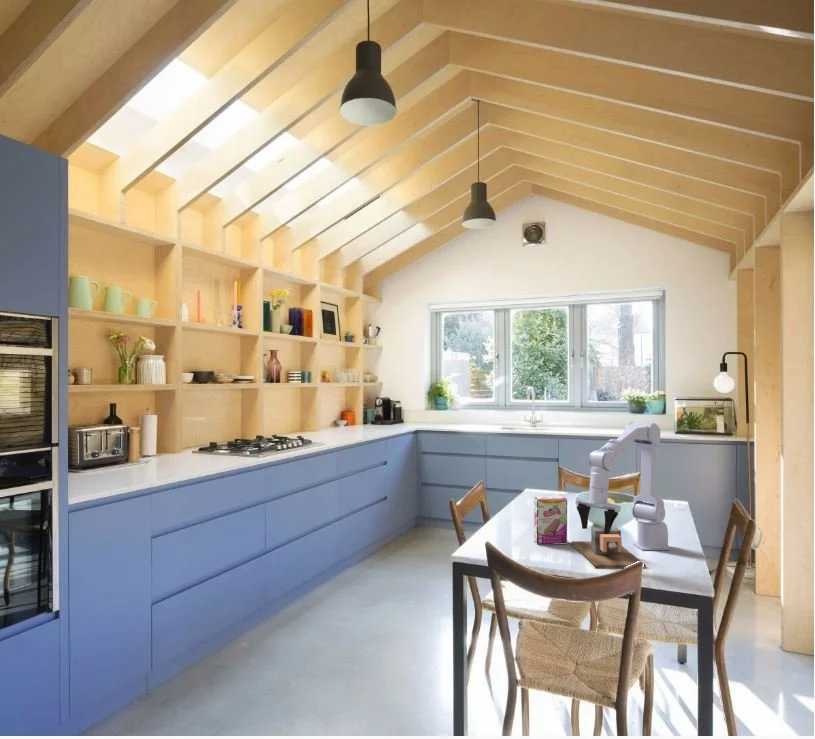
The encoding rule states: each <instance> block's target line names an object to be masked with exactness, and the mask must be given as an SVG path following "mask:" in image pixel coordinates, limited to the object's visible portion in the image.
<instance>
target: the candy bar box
mask: <svg viewBox="0 0 815 739" xmlns="http://www.w3.org/2000/svg"><path fill="white" fill-rule="evenodd" d="M533 512H534V513H533V540H534V542H535V544H536V543H537V544H536V545H555V544H554V543H567V544H568V498H566V497H564V496H534V497H533Z"/></svg>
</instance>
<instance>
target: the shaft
mask: <svg viewBox="0 0 815 739" xmlns="http://www.w3.org/2000/svg"><path fill="white" fill-rule="evenodd" d="M591 528H603V527H602V526H600V527H599V526H598V527H597V526H596V527H595V526H594V527H593V526H592V527H590V529H591ZM607 546H608V547H609V548H610V549H611V550H616V549H617V545H616V543H614V542H607Z"/></svg>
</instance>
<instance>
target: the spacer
mask: <svg viewBox="0 0 815 739" xmlns="http://www.w3.org/2000/svg"><path fill="white" fill-rule="evenodd" d="M607 542H614V543H616V545H617V549H616V551H617V552H622V546H623V544H622V535H621V536H619V535H618V534H600V549H601V550H602V551H603V552H607Z"/></svg>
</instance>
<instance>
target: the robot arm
mask: <svg viewBox="0 0 815 739" xmlns="http://www.w3.org/2000/svg"><path fill="white" fill-rule="evenodd" d="M632 443H634V444H636V445H638V447H639V448H640V449H641V459H640V460H641V461H640V462H641V464H640V490H639V491H640V492H639V494H637V495H636V496H634V497H633V504H632V506H631V515H632V516H633V518H634V519H635V521H637V522H636V523H637V542H635V541H633V545H635V546H636V547H637V548H638V549H640V550H641V551H668V550H670V548H669V531H668V530H669V529H668V527H667V526H668V525H667V524H666V523H665V522H664V520H665V517H666V510H665V502H664V501H665V500H663V499H662V498H661V497H659V496H658V494H657V479H658V477H657V476H658V475H657V474H658V452H659V449H658V447H660V446H661V428H660V427H659V426H658V424H657V423H654V422H652V423H650V422H636V421H630V422H628V423H627V424H626V425H625V428H624V431H623V432H622V433H621V434H620V435H619V436H618V438H616V439H615V438H611V439H609V440H608V441H607V442H606V443H605V444H604V445H603V446H601V447H600V448H599V449H598V450H593V451H592V452H590V453H589V455H588V458H587V463H588V467H589V469H588V470H589V471H588V472H589V473H590V479H589V490H588V492H589V493H588V499H585V498H580V497H577V498H575V505H577V506H576V510H577V513H578V514H579V519H580V523H581V529H583V530H587V529H588V526H589V525H588V522H589V515H590V511H591V509H592V508H595V509H600V510H604V511H603V513H604V528H605V529H604V533H605V534H609V533H610V529H611V528H613V527H612V526H613V524H614V522H615V520H616V518H617V517H618V516H619V513H621V511H622V510H621V508H622V505H618V504H613V503H609V502H608V499H609V486H610V485H609V484H610V470H612V469H613V468H614V466H615V463H616V461H617V459H618V458H619V457H621V456H622V455H623V454H624V452H625V448H626V447H627V446H629V445H630V444H632Z"/></svg>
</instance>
